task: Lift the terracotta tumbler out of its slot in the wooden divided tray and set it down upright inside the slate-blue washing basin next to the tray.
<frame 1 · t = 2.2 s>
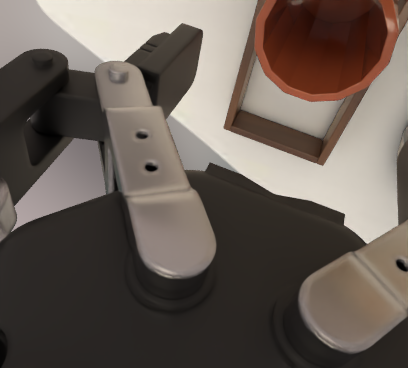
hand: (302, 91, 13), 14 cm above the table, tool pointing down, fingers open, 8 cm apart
wooden divided tray: (316, 38, 26), on the table
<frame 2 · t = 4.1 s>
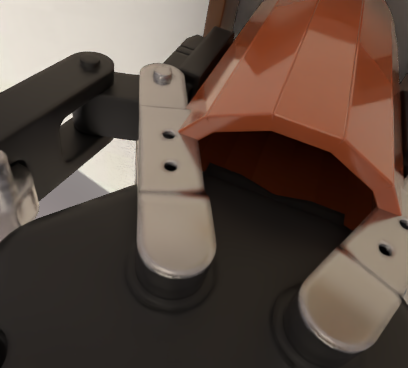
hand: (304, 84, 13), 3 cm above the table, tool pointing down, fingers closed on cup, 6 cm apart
wooden divided tray: (285, 123, 18), on the table
cup: (317, 48, 15), resting in wooden divided tray, touching gripper
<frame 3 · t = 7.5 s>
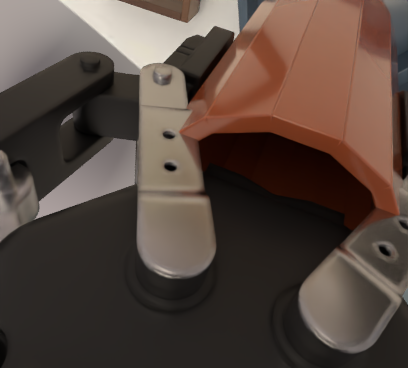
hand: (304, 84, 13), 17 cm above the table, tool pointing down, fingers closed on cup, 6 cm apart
cup: (316, 49, 15), point 14 cm above the table, touching gripper
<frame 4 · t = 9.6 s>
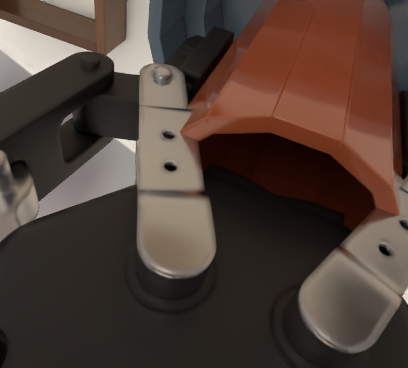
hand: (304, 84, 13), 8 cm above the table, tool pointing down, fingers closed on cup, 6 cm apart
basin: (332, 12, 18), on the table
cup: (316, 49, 15), point 4 cm above the table, touching gripper
when the fingers open (4 cm above the table, at t = 11.2 s): cup stays where it is, resting on basin.
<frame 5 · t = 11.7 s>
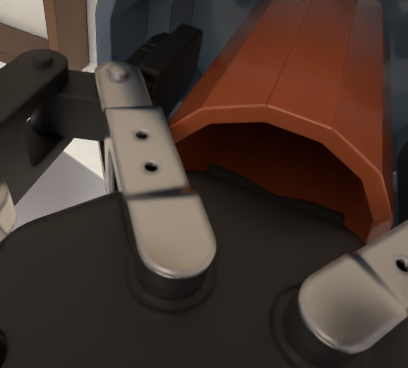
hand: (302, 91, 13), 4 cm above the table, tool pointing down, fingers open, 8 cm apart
basin: (316, 41, 16), on the table
cup: (312, 46, 16), resting on basin
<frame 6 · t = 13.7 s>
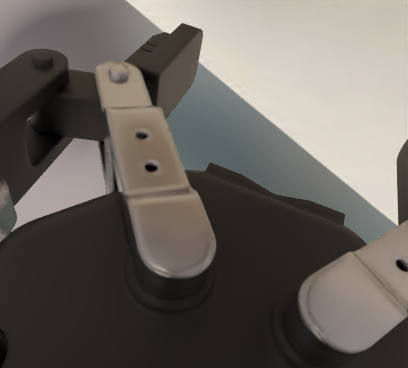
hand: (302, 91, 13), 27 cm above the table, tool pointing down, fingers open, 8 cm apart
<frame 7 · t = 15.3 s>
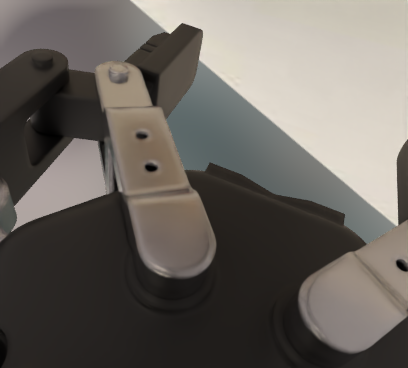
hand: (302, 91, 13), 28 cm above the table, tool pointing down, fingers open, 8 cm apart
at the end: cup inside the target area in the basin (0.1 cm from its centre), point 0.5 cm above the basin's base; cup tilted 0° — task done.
